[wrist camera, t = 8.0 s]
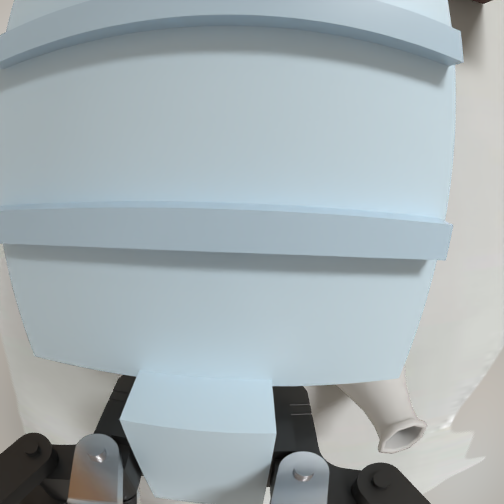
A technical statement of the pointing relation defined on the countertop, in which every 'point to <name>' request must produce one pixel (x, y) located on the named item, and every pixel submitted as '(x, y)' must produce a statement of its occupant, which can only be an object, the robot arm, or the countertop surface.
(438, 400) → the countertop surface
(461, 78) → the countertop surface
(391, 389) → the flask
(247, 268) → the lid
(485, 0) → the box
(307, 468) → the robot arm
